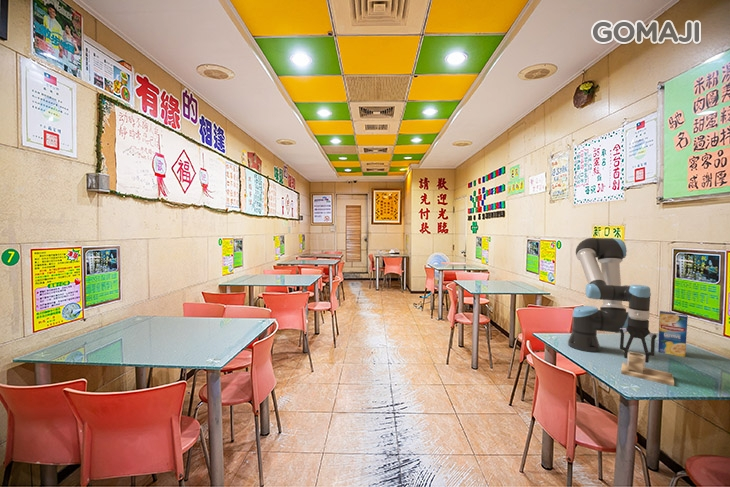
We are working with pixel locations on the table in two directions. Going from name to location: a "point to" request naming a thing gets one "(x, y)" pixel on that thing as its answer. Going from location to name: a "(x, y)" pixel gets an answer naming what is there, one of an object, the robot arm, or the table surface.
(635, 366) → the block
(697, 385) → the table surface
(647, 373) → the board
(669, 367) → the table surface
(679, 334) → the blue food box
